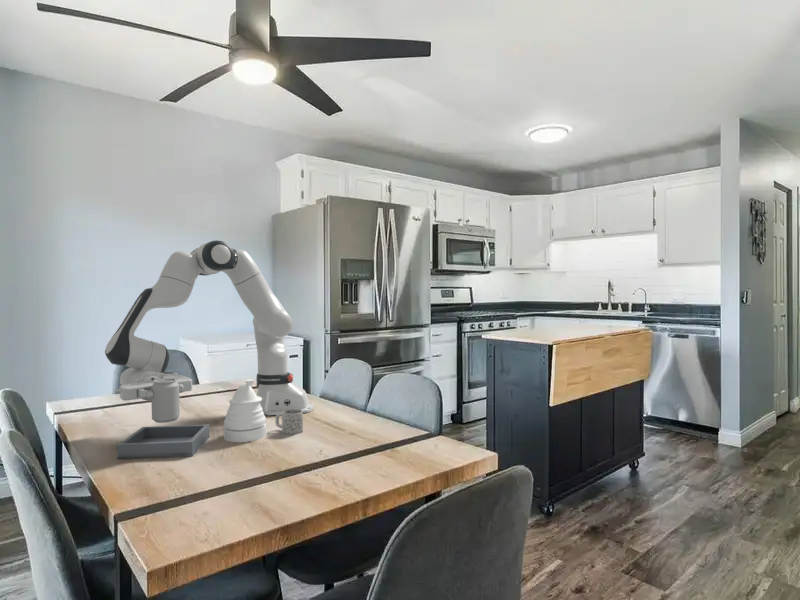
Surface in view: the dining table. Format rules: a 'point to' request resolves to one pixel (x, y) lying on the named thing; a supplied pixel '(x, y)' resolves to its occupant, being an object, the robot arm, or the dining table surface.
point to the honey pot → (245, 416)
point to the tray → (163, 441)
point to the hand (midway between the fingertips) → (166, 392)
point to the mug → (290, 421)
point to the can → (165, 400)
